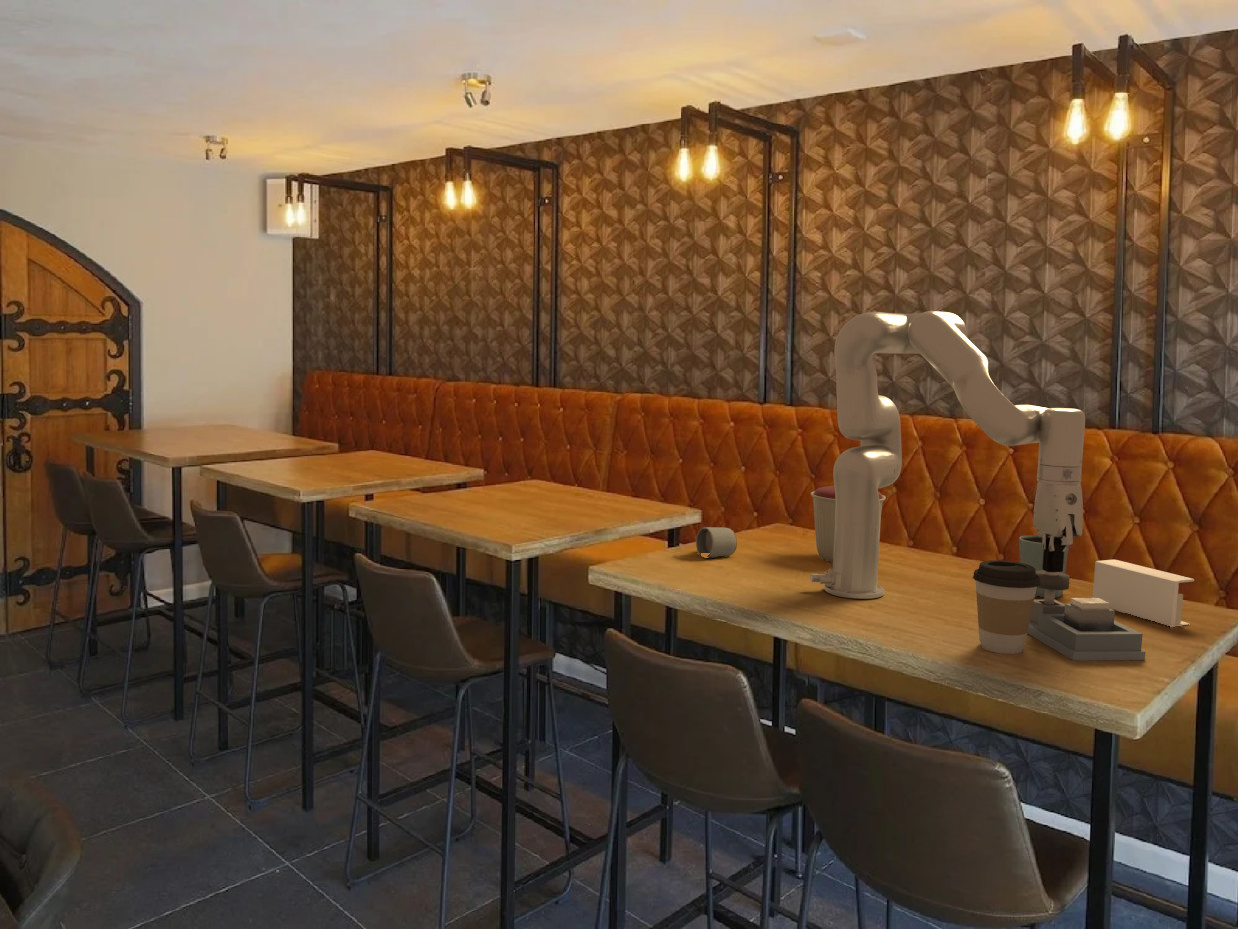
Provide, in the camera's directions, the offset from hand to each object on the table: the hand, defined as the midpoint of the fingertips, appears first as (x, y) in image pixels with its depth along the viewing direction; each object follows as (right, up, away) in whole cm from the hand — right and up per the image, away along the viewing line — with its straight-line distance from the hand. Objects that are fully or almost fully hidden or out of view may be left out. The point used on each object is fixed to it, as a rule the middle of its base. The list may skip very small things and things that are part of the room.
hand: (1052, 570), depth 190 cm
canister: (-26, -4, +61) cm, 66 cm away
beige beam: (+24, -11, +16) cm, 31 cm away
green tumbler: (+11, -8, +32) cm, 35 cm away
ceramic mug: (-58, -3, +63) cm, 86 cm away
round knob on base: (0, -7, +1) cm, 7 cm away
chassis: (+2, -12, -5) cm, 13 cm away
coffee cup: (-13, -13, -10) cm, 21 cm away
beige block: (+3, -11, -9) cm, 15 cm away
